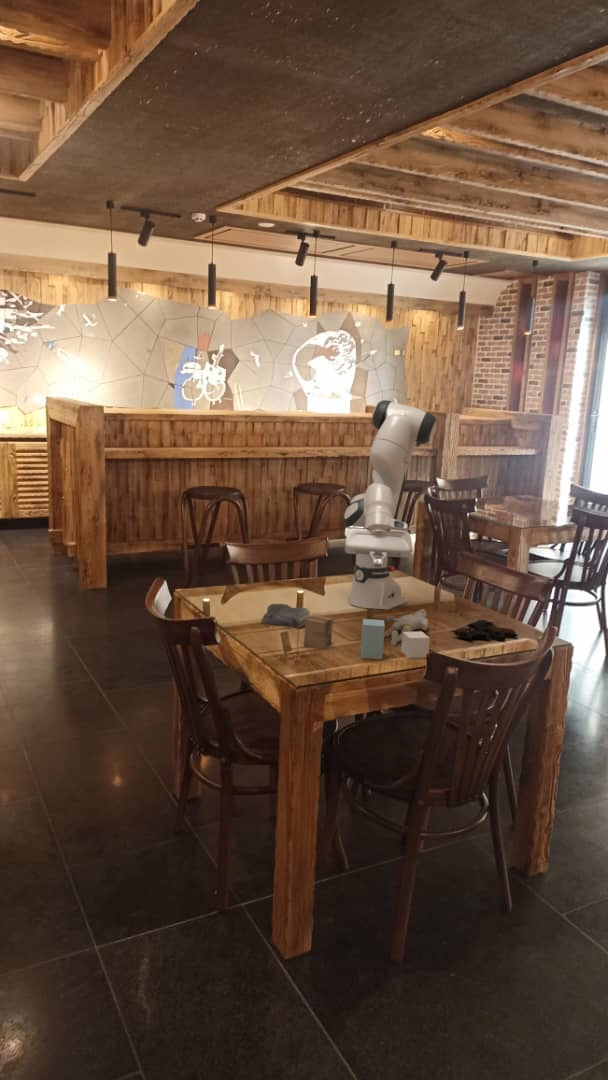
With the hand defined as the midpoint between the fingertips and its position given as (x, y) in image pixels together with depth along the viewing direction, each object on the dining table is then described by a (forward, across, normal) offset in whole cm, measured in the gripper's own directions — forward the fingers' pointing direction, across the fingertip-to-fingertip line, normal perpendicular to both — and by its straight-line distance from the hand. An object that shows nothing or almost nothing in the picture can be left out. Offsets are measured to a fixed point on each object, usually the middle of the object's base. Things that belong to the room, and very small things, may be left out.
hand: (377, 565), depth 233 cm
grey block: (+23, +12, +10) cm, 28 cm away
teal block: (+26, -1, +7) cm, 27 cm away
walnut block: (+22, -16, +12) cm, 30 cm away
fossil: (+5, -27, +29) cm, 40 cm away
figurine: (+8, +11, +26) cm, 29 cm away
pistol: (+8, +37, +26) cm, 45 cm away
